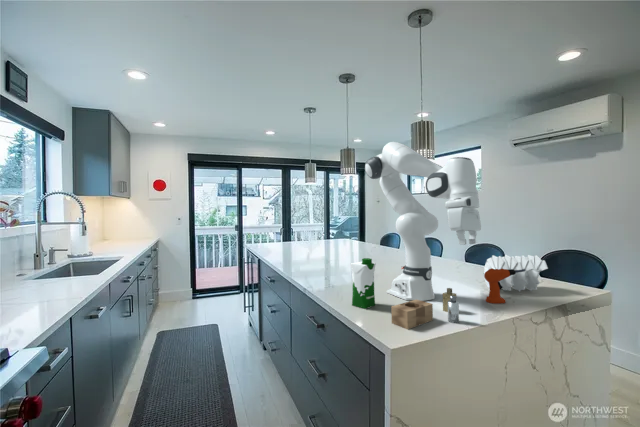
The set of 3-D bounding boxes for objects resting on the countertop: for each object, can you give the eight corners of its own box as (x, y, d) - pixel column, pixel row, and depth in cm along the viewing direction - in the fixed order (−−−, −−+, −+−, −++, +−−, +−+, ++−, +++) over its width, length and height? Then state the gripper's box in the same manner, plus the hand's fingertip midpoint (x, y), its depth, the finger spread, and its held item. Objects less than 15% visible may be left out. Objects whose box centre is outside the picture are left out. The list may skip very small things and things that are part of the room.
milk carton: (365, 310, 121) (365, 260, 120) (348, 305, 127) (347, 258, 127) (378, 305, 127) (377, 258, 127) (361, 300, 133) (360, 256, 133)
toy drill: (533, 299, 127) (528, 264, 127) (490, 306, 126) (486, 271, 126) (524, 295, 132) (520, 262, 132) (483, 302, 131) (479, 268, 131)
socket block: (391, 323, 106) (391, 306, 106) (416, 315, 114) (416, 299, 114) (407, 329, 100) (407, 311, 100) (432, 320, 108) (432, 303, 108)
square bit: (442, 310, 118) (442, 288, 118) (448, 309, 120) (447, 286, 120) (451, 313, 115) (451, 290, 115) (456, 311, 118) (456, 288, 117)
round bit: (445, 321, 108) (445, 296, 108) (451, 318, 110) (451, 294, 110) (455, 324, 105) (455, 298, 105) (461, 321, 107) (460, 296, 107)
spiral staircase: (482, 297, 150) (530, 293, 151) (502, 290, 134) (556, 285, 135) (472, 261, 158) (517, 258, 159) (489, 251, 142) (540, 247, 143)
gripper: (465, 206, 111) (468, 243, 110) (443, 202, 96) (446, 245, 95) (483, 204, 107) (487, 243, 105) (463, 199, 92) (467, 244, 91)
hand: (467, 244), depth 100 cm, fingers open, 8 cm apart
